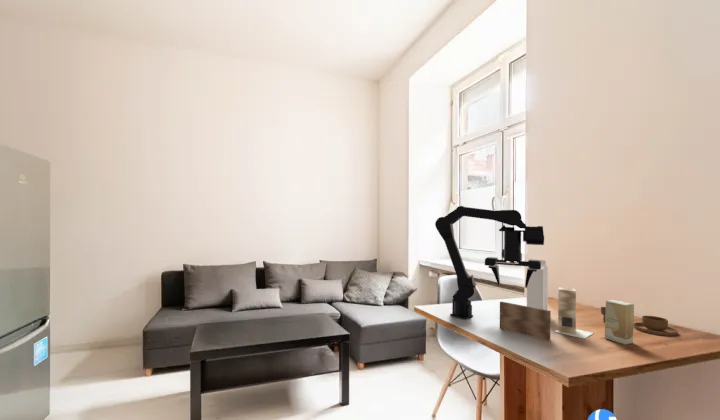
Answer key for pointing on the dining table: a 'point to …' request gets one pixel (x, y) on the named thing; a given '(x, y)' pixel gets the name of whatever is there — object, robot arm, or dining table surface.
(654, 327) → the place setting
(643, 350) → the dining table surface
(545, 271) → the milk
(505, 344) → the dining table surface
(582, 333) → the mat
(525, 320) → the screen
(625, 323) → the skincare box
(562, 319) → the wooden block
